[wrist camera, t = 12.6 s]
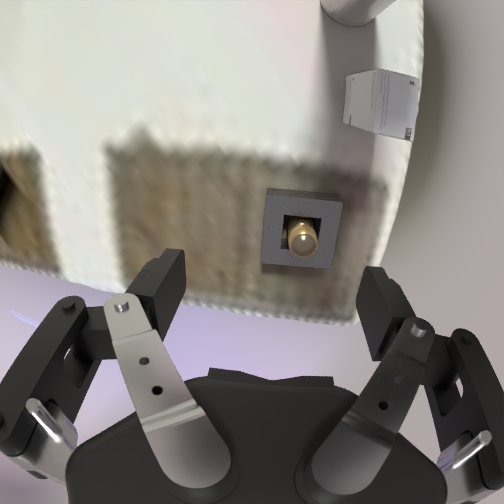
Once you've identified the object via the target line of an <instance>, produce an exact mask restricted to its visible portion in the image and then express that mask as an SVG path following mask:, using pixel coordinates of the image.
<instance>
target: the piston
mask: <svg viewBox="0 0 504 504" xmlns="http://www.w3.org/2000/svg"><path fill="white" fill-rule="evenodd" d="M287 229H288V242H289V249H290V251H291V253H292V254H293V255H295V256H296V257H299V258H307V257H310V256H311V255H313V254H314V253H315V252H316V250H317V248H318V240H317V236H316V233H315V229H314V226H313V222H312V219H311V218H310V217H303V216H293V215H291V216H290V217H289V219H288V222H287Z"/></svg>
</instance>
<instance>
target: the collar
mask: <svg viewBox="0 0 504 504" xmlns="http://www.w3.org/2000/svg"><path fill="white" fill-rule="evenodd" d="M342 206H343V202H342V200H341V199H340V197H339V196H338V195H333V194H325V193H316V192H307V191H297V190H287V189H275V188H267V192H266V204H265V217H264V230H263V242H262V255H261V263H264V264H276V265H288V266H299V267H311V268H324V269H331V264H332V259H333V254H334V249H335V244H336V239H337V234H338V229H339V223H340V218H341V212H342ZM284 215H293V216H303V217H313V218H317V224H316V230H315V233H316V236H317V240H318V248H317V250H316V252H315V253H314V254H313V255H311V256H310V257H307V258H299V257H296V256H295V255H293V254H292V253H291V251H290V249H289V242H288V239H282V229H283V220H284Z"/></svg>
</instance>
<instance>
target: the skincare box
mask: <svg viewBox="0 0 504 504" xmlns="http://www.w3.org/2000/svg"><path fill="white" fill-rule="evenodd" d="M419 83H420V79H419V78H416V77H412V76H409V75H405V74H401V73H397V72H393V71H388V70H383V69H374V70H369V71H365V72H361V73H356V74H352V75H348V76H346V91H345V105H344V113H343V120H342V122H343V123H345V124H348V125H351V126H354V127H357V128H360V129H362V130H364V131H368V132H370V133H374V134H379V135H384V136H389V137H394V138H398V139H403V140H407V141H411V142H413V140H414V131H415V121H416V117H417V114H418V102H417V101H418V90H419Z"/></svg>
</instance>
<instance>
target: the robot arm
mask: <svg viewBox="0 0 504 504" xmlns="http://www.w3.org/2000/svg"><path fill="white" fill-rule="evenodd" d="M320 1H321V5H322V7H323V9H324V11H325V12H326V13H327V14H328V15H329V16H330V17H331V18H332V19H334V20H335V21H337V22H339V23H341V24H344V25H348V26H362V25H365V24H367V23H369V22H370V21H371V20H372V19H373V18H375V17H376V16H377V15H378V14H380V13H381V12H382V11H383V10H385V9H386V8H387V7H388V6H389V5H391V4H392V3H393V2H394V1H396V0H320ZM185 289H186V269H185V254H184V251H183V250H181V249H170V248H167V249H165V251H164V252H163V254H162V255H161V256H160V258H154V259H152V260H151V261H149V262H147V263H146V264H145V266H144V267H143V268H142V270H141V271H140V272H139V274H138V275H137V277H136V278H135V279H134V281H133V282H132V283H131V285H130V286H129V287H128V289H127V290H126V292H125V293H120V294H116V295H114V296H112V297H110V298H109V299H108V300H106V302H105V303H104V306H98V307H86V305H85V302H84V300H83V299H82V298H81V297H78V296H68V297H65V298H63V299H61V300H59V301H58V302H57V303H56V304H55V305H54V307H53V308H52V309H51V311H50V312H49V313H48V314H47V316H46V317H45V318H44V320H43V321H42V322H41V324H40V325H39V326H38V328H37V329H36V331H35V332H34V333H33V335H32V336H31V337H30V339H29V340H28V342H27V343H26V345H25V346H24V347H23V349H22V351H21V352H20V353H19V355H18V356H17V358H16V359H15V361H14V363H13V364H12V366H11V367H10V369H9V370H8V372H7V373H6V375H5V377H4V378H3V380H2V381H1V383H0V451H1V452H2V453H3V454H4V455H5V456H6V457H8V458H9V459H10V460H11V461H13V462H14V463H15V464H17V465H18V466H19V467H21V468H22V469H24V470H26V471H28V472H29V473H30V474H32V475H33V476H35V477H37V478H39V479H47V478H50V479H52V480H54V481H56V482H58V483H60V484H62V485H64V486H66V487H67V492H68V500H69V504H474V503H477V502H478V501H480V500H482V499H484V498H486V497H487V496H489V495H491V494H493V493H494V492H496V491H498V490H499V489H501V488H502V487H504V391H503V389H502V387H501V385H500V382H499V380H498V378H497V376H496V374H495V372H494V370H493V368H492V365H491V363H490V361H489V360H488V358H487V356H486V354H485V352H484V350H483V348H482V346H481V344H480V342H479V340H478V339H477V337H476V336H475V335H474V334H473V333H472V332H470V331H468V330H466V329H461V328H459V329H456V330H454V331H453V333H452V335H451V337H446V336H441V335H437V334H435V330H434V328H433V326H431V324H430V323H429V322H427V321H426V320H424V319H422V318H418V317H416V315H415V313H414V311H413V309H412V307H411V305H410V303H409V302H408V300H407V298H406V296H405V295H404V294H403V291H402V289H401V287H400V286H399V285H398V284H397V283H396V282H395V281H394V280H393V279H389V278H388V276H387V274H386V272H385V270H384V269H383V268H382V267H373V266H366V267H365V269H364V272H363V276H362V279H361V283H360V286H359V290H358V293H357V297H356V308H357V311H358V314H359V318H360V321H361V324H362V327H363V330H364V333H365V337H366V340H367V344H368V347H369V351H370V354H371V358H372V361H381V362H380V364H379V366H378V367H377V369H376V371H375V372H374V374H373V375H372V377H371V379H370V380H369V382H368V383H367V385H366V386H365V388H364V389H363V391H362V392H361V394H360V395H359V396H358V395H356V394H354V393H353V392H351V391H349V390H346V389H344V388H341V387H338V386H334V381H333V377H327V376H325V377H324V376H299V377H293V378H287V379H280V380H268V379H264V378H261V377H257V376H254V375H250V374H247V373H244V372H241V371H234V370H225V369H217V368H209V373H208V376H204V377H198V378H193V379H189V380H186V381H184V382H183V380H182V378H181V376H180V374H179V373H178V371H177V369H176V367H175V365H174V363H173V362H172V360H171V358H170V356H169V354H168V352H167V350H166V348H165V346H164V345H163V341H164V338H165V336H166V333H167V331H168V329H169V327H170V324H171V322H172V320H173V318H174V315H175V313H176V311H177V308H178V306H179V304H180V302H181V300H182V298H183V295H184V293H185ZM69 348H70V351H69V353H68V354H67V356H66V358H65V359H64V357H65V355H66V353H67V351H68V349H69ZM105 359H117V360H118V363H119V366H120V369H121V372H122V375H123V378H124V381H125V384H126V386H127V389H128V392H129V395H130V397H131V400H132V402H133V405H134V407H135V410H136V411H135V412H134V413H132V414H130V415H129V416H127V417H126V418H124V419H122V420H121V421H119V422H117V423H116V424H114V425H112V426H111V427H109V428H107V429H106V430H104V431H102V432H101V433H99V434H97V435H95V436H94V437H92V438H90V439H89V440H87V441H85V442H84V443H82V444H80V445H79V446H78V447H77V445H76V444H77V439H78V435H77V431H76V428H75V427H74V425H73V424H74V421H75V419H76V417H77V414H78V412H79V409H80V407H81V405H82V403H83V400H84V398H85V396H86V393H87V391H88V389H89V387H90V384H91V382H92V380H93V378H94V376H95V374H96V372H97V370H98V367H99V365H100V363H101V361H102V360H105ZM458 378H460V380H461V383H462V385H463V395H462V398H461V396H460V393H459V391H458V388H457V385H456V381H457V380H458ZM419 385H424V388H425V391H426V395H427V398H428V402H429V405H430V409H431V413H432V417H433V421H434V425H435V429H436V433H437V437H438V442H439V447H440V451H441V454H440V456H439V457H438V460H437V465H436V464H434V463H433V462H432V461H431V460H430V459H429V458H427V457H426V456H425V455H424V454H423V453H422V452H421V451H419V450H418V449H417V448H416V447H415V446H414V445H413V444H411V443H410V442H409V441H408V440H407V439H406V438H405V437H404V436H403V435H401V434H400V433H399V432H398V431H399V429H400V427H401V425H402V423H403V421H404V419H405V417H406V415H407V413H408V411H409V409H410V406H411V404H412V402H413V400H414V397H415V395H416V393H417V390H418V388H419Z"/></svg>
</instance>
